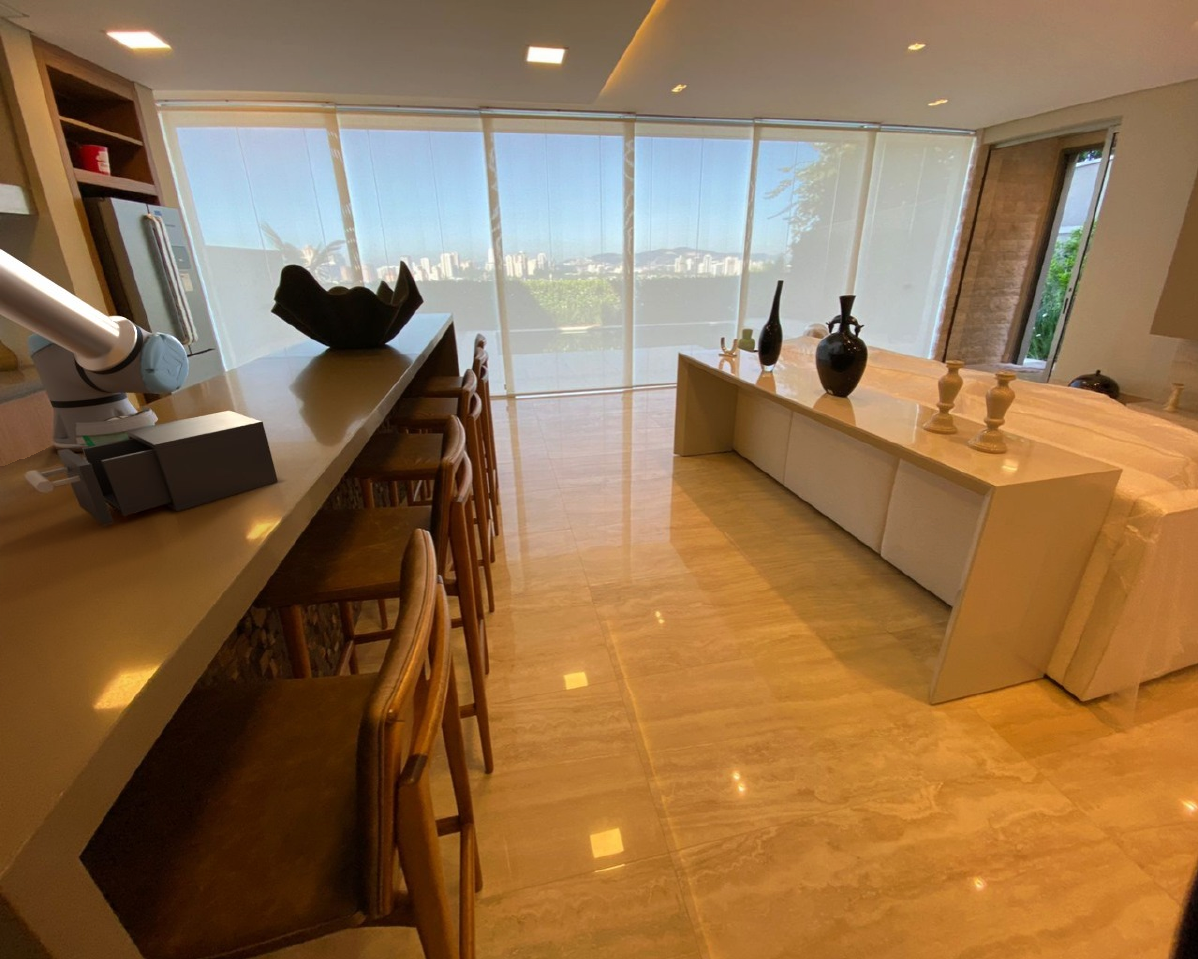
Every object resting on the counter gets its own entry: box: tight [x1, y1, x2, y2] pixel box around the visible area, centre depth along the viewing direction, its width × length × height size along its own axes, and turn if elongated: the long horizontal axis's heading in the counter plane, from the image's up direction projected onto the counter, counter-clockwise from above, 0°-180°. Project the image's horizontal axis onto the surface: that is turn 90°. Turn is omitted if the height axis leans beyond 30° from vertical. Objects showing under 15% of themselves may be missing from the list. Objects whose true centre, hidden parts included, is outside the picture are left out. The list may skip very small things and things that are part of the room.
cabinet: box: [126, 410, 279, 513], centre depth 86 cm, size 15×13×11 cm
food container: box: [76, 406, 159, 447], centre depth 95 cm, size 12×6×10 cm, turn 168°
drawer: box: [24, 438, 172, 527], centre depth 78 cm, size 18×11×9 cm, turn 144°
